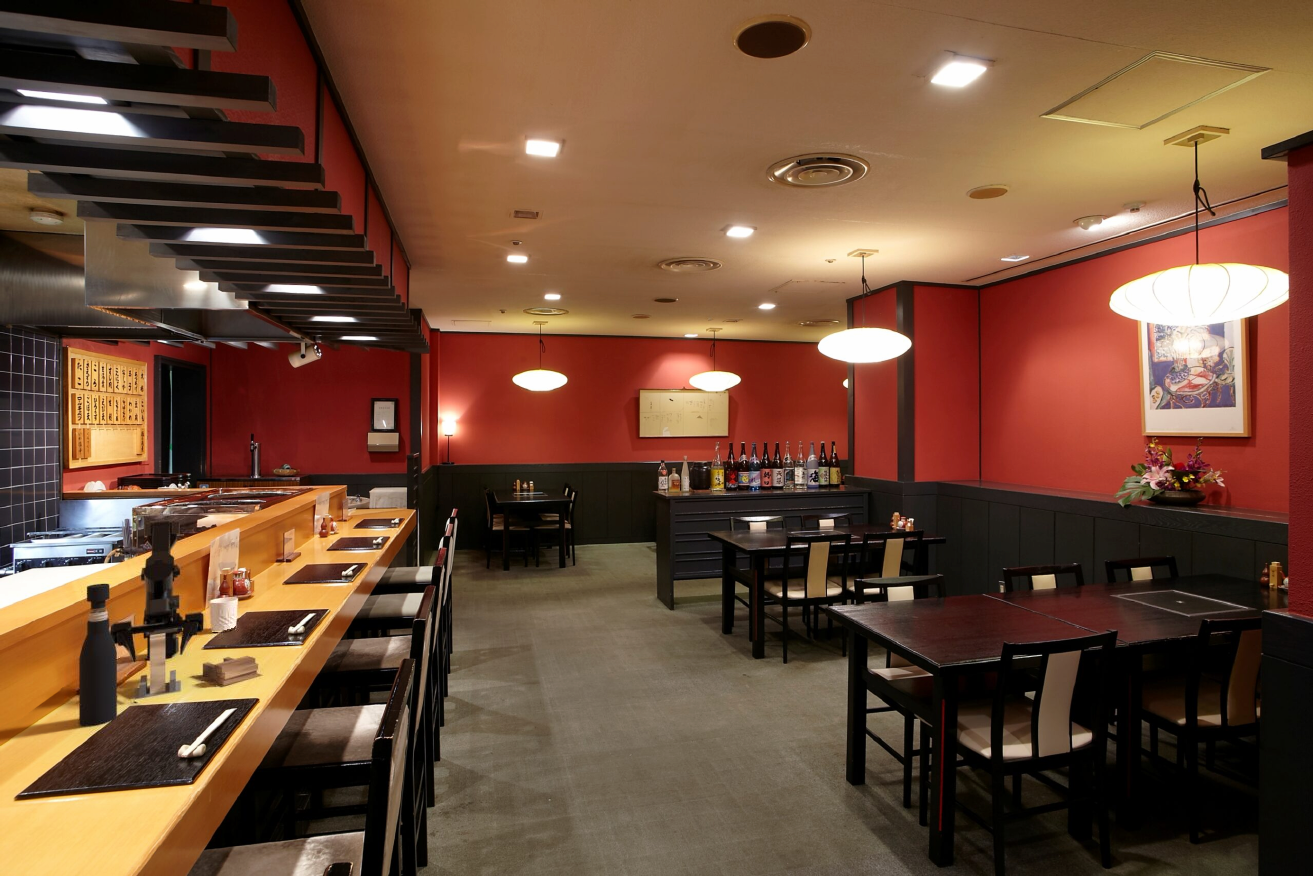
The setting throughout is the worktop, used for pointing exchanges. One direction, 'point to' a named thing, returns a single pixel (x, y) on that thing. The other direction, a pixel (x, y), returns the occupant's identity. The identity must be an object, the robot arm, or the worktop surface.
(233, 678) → the offcut stack
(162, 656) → the birch board
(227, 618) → the white cup
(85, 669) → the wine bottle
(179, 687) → the grey holder
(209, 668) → the walnut rack
